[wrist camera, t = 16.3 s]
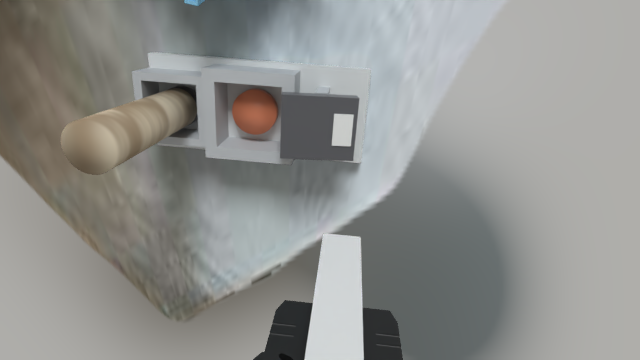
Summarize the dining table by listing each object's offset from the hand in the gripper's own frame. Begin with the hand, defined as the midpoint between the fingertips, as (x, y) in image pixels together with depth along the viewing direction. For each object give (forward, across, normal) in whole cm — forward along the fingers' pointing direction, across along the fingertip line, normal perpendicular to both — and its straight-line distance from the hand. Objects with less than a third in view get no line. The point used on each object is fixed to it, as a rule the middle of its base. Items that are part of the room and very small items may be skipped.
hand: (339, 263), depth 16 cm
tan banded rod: (+27, -18, 0) cm, 32 cm away
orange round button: (+27, -10, 0) cm, 28 cm away
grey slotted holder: (+28, -10, 0) cm, 30 cm away
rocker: (+22, -3, 0) cm, 22 cm away
